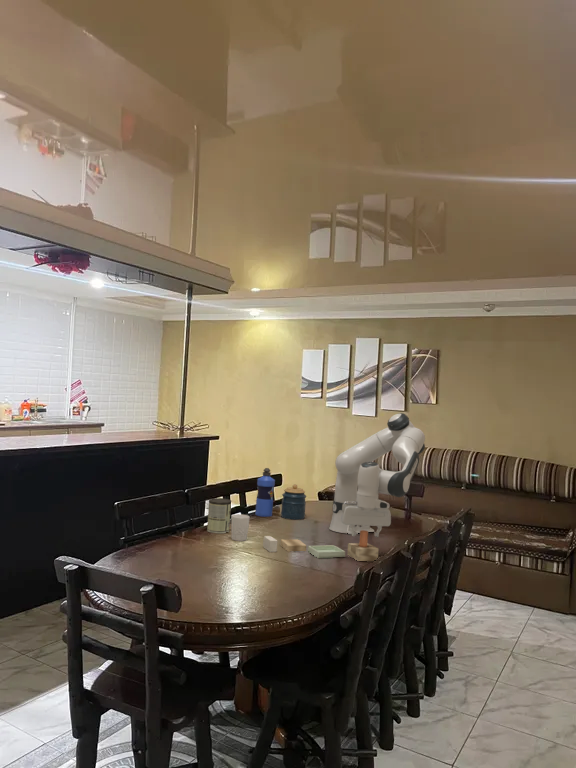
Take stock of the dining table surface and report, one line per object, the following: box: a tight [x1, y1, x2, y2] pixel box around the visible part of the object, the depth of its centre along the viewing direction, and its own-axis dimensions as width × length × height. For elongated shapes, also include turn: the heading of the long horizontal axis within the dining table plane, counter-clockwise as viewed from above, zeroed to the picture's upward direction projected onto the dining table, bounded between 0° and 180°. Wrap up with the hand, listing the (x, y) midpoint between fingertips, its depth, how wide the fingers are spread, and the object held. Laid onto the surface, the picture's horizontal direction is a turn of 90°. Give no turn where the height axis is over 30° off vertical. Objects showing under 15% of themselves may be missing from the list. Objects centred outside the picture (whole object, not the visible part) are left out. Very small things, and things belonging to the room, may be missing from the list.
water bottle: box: [255, 467, 276, 518], centre depth 311 cm, size 9×9×25 cm
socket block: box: [346, 542, 380, 562], centre depth 235 cm, size 9×9×5 cm
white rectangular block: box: [262, 535, 278, 553], centre depth 239 cm, size 3×8×4 cm, turn 23°
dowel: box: [358, 530, 369, 547], centre depth 235 cm, size 3×3×11 cm
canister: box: [280, 484, 307, 521], centre depth 309 cm, size 13×13×18 cm
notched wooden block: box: [280, 539, 308, 553], centre depth 243 cm, size 8×10×3 cm
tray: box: [307, 544, 346, 559], centre depth 237 cm, size 12×10×2 cm
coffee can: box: [206, 497, 232, 534], centre depth 266 cm, size 10×10×14 cm
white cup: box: [230, 513, 251, 542], centre depth 253 cm, size 8×8×10 cm
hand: (365, 536), depth 235 cm, fingers open, 8 cm apart
